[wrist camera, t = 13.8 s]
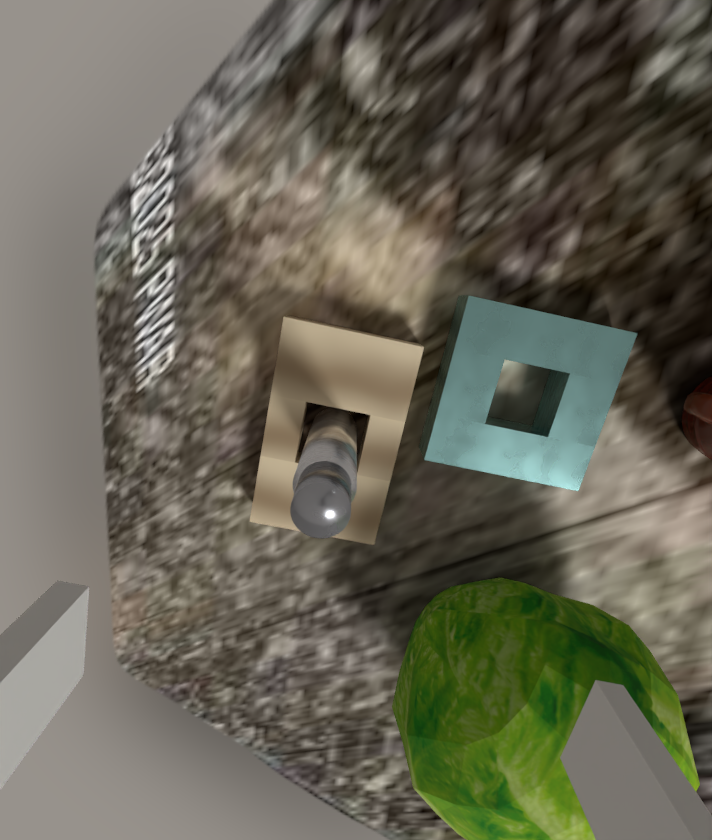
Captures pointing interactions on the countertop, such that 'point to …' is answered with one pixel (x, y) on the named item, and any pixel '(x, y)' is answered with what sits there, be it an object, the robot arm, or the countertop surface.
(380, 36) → the countertop surface
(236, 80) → the countertop surface
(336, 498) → the metal cylinder rod
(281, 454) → the wooden square-hole plate
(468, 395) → the socket
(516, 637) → the lettuce
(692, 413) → the mug
